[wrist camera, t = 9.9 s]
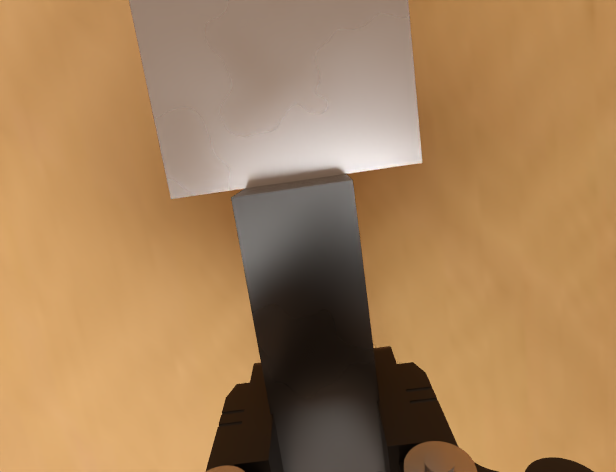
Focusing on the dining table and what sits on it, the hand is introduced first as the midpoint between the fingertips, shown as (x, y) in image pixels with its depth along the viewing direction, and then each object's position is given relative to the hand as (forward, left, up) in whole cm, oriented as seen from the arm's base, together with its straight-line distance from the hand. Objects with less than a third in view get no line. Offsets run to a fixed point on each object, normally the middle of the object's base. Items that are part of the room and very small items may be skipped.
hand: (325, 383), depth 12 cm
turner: (0, -3, -1) cm, 3 cm away
